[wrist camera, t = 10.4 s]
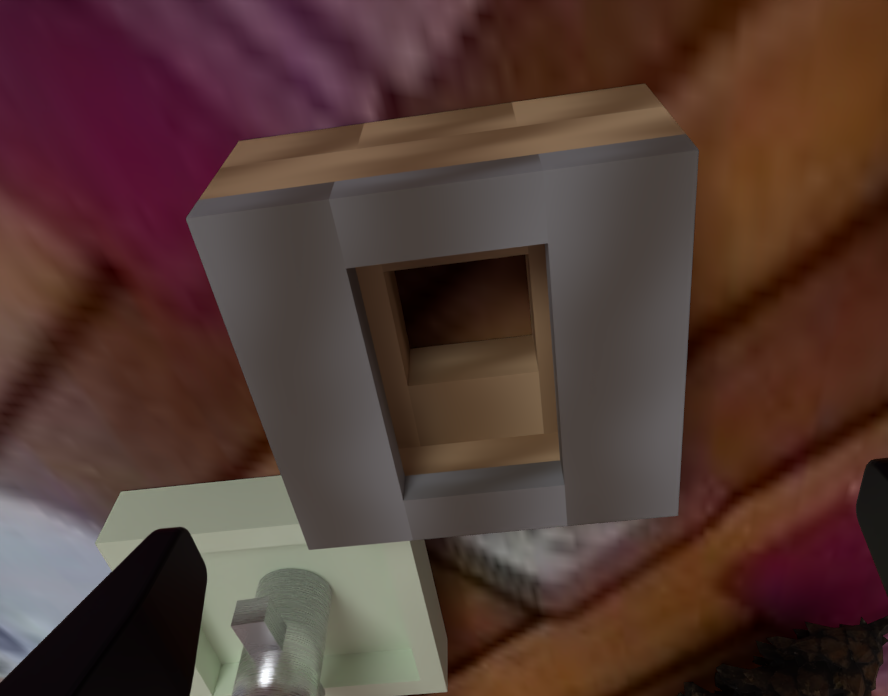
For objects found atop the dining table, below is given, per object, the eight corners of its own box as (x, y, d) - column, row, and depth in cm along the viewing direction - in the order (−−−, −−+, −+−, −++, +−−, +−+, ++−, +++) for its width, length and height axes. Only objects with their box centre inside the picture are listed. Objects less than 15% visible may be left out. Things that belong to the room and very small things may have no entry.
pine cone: (692, 865, 34) (600, 812, 33) (679, 760, 38) (598, 712, 37) (1043, 678, 25) (930, 602, 25) (974, 572, 30) (877, 505, 29)
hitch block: (645, 83, 19) (698, 150, 15) (640, 406, 25) (678, 515, 21) (239, 141, 20) (185, 218, 16) (330, 439, 26) (309, 550, 22)
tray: (406, 462, 27) (402, 513, 25) (447, 639, 33) (447, 691, 31) (120, 491, 28) (95, 543, 26) (212, 658, 34) (198, 710, 32)
